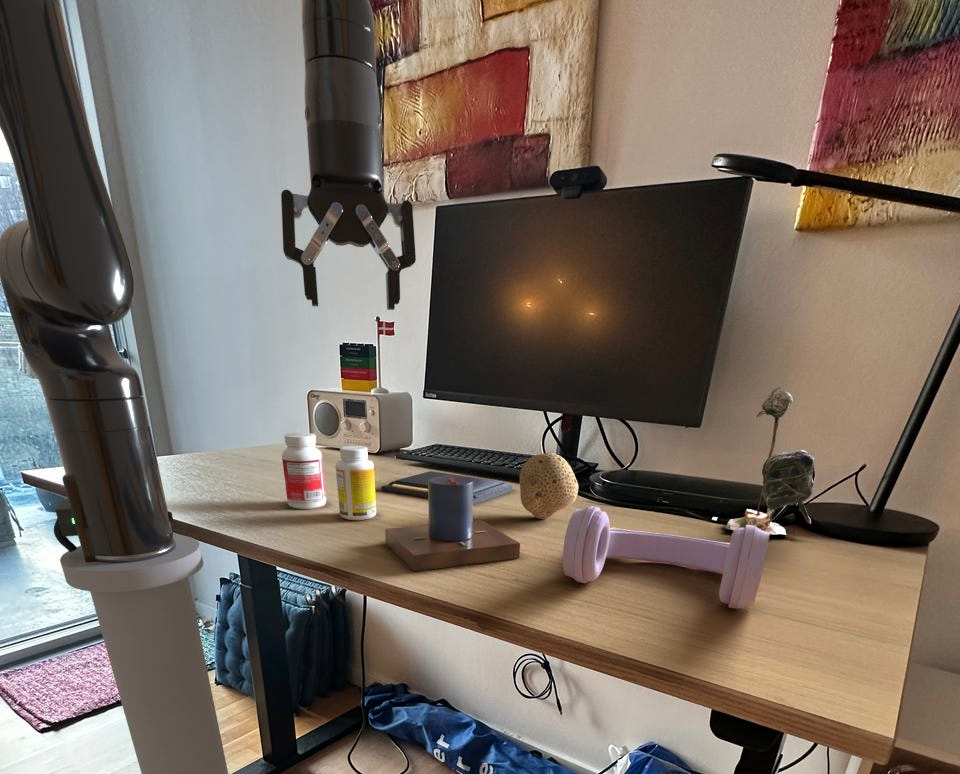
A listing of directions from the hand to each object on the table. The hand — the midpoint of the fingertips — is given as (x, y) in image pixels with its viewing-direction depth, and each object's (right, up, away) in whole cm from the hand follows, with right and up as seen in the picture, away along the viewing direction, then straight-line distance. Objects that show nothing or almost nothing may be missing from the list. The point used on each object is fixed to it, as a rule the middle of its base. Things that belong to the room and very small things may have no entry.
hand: (353, 307), depth 69 cm
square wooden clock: (+11, -27, +9) cm, 30 cm away
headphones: (+36, -31, +2) cm, 48 cm away
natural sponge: (+25, -19, +25) cm, 40 cm away
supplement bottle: (-4, -19, +24) cm, 31 cm away
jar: (+11, -25, +8) cm, 28 cm away
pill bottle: (-14, -16, +30) cm, 37 cm away
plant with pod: (+57, -22, +21) cm, 64 cm away
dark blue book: (+9, -11, +42) cm, 44 cm away
